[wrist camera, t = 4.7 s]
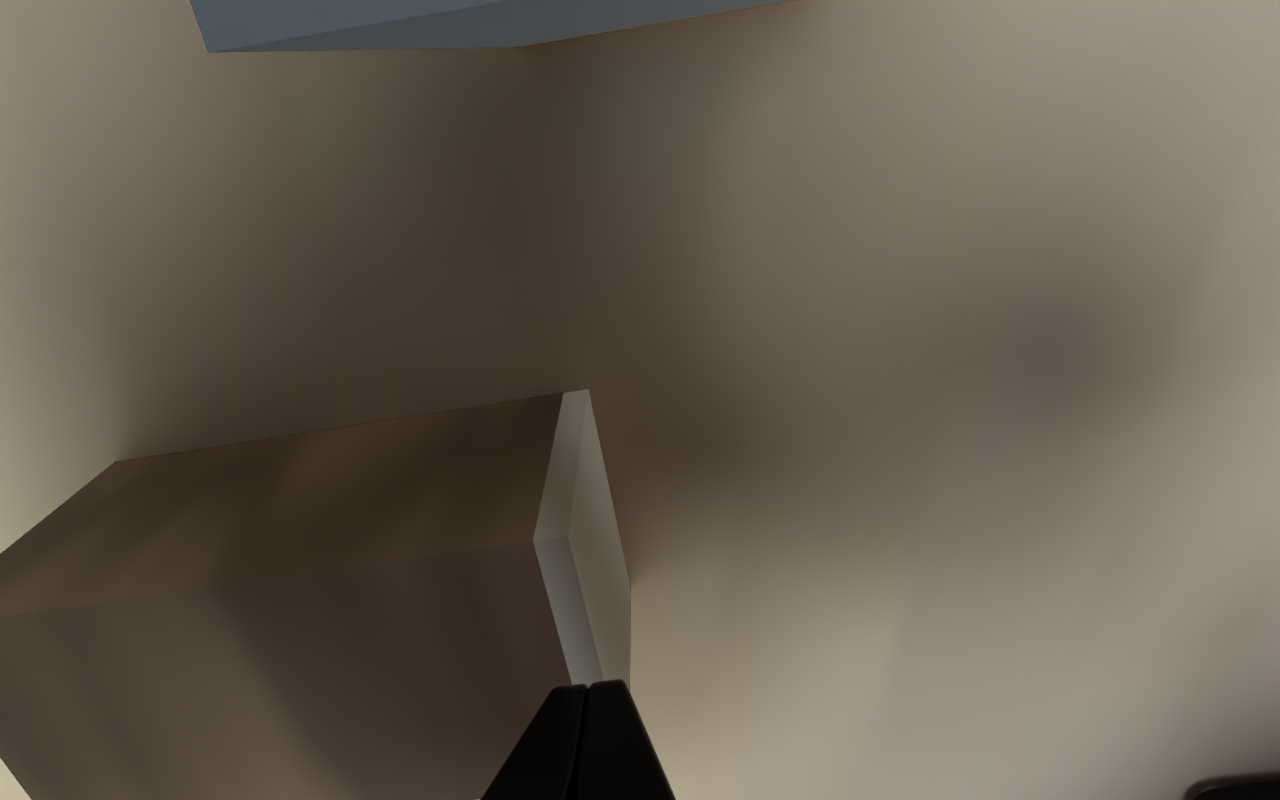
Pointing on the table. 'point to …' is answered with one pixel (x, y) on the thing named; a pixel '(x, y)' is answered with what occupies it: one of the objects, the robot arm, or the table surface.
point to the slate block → (430, 22)
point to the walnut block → (314, 611)
